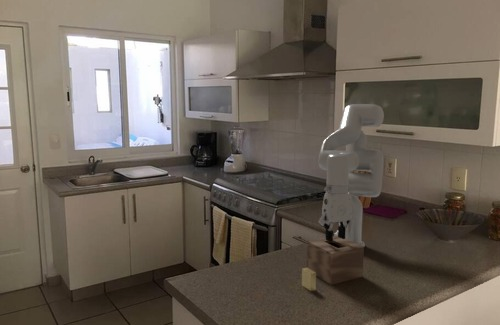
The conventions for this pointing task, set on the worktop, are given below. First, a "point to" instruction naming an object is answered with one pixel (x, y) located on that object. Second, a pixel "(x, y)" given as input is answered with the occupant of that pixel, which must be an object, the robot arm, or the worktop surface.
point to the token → (308, 279)
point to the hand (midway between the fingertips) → (335, 238)
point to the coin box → (335, 259)
